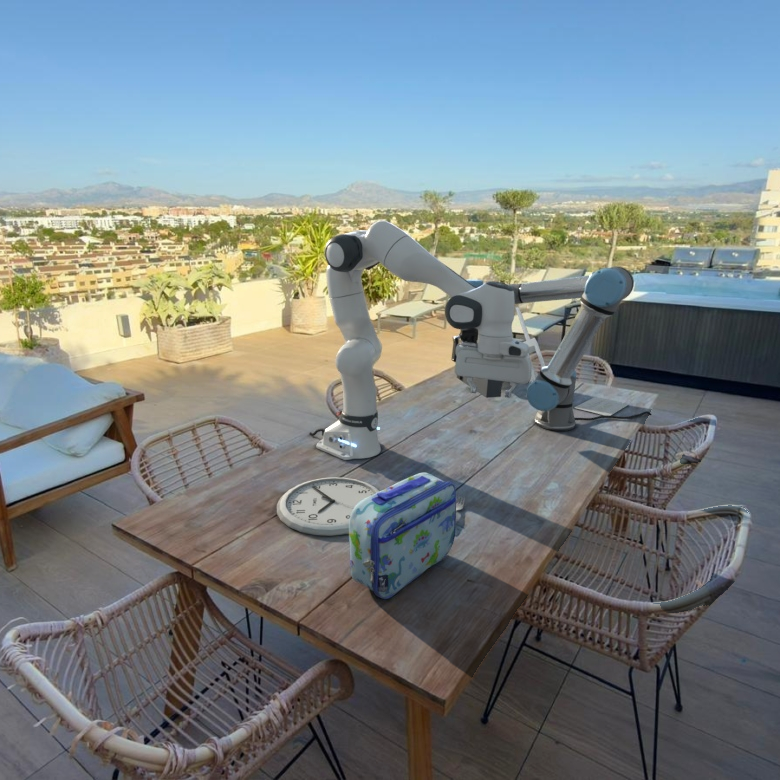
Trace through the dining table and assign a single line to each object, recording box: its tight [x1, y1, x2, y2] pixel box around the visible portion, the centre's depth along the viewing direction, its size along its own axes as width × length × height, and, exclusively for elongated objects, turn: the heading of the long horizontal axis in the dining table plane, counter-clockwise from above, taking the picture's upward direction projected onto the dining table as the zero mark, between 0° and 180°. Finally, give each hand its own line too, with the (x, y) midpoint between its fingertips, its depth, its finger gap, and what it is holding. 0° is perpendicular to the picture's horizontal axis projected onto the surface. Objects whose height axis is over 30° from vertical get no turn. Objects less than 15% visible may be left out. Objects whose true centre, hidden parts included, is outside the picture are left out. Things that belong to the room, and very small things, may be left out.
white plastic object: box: [512, 306, 546, 382], centre depth 260 cm, size 37×45×31 cm
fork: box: [456, 494, 466, 512], centre depth 138 cm, size 3×16×2 cm, turn 160°
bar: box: [460, 376, 503, 399], centre depth 198 cm, size 26×6×8 cm, turn 17°
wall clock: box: [276, 476, 381, 537], centre depth 142 cm, size 30×2×30 cm
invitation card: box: [573, 396, 629, 416], centre depth 226 cm, size 21×1×15 cm
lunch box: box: [348, 471, 457, 600], centre depth 113 cm, size 26×11×21 cm, turn 134°
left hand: (490, 394), depth 142 cm, fingers open, 8 cm apart
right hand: (466, 378), depth 208 cm, fingers closed on bar, 6 cm apart
